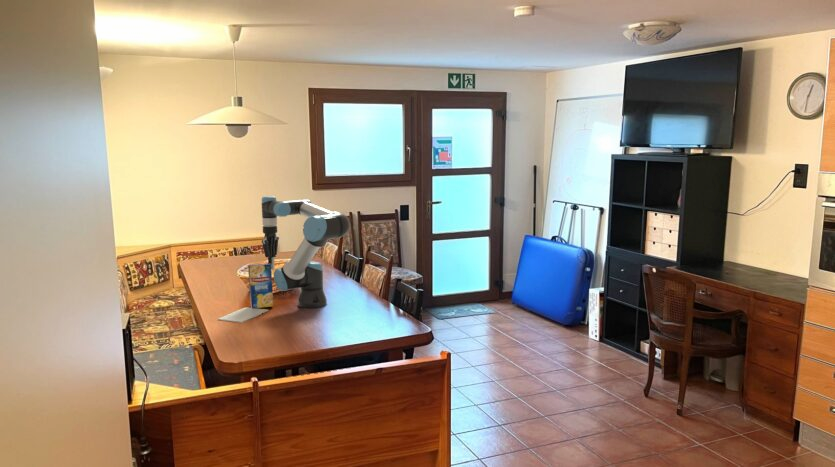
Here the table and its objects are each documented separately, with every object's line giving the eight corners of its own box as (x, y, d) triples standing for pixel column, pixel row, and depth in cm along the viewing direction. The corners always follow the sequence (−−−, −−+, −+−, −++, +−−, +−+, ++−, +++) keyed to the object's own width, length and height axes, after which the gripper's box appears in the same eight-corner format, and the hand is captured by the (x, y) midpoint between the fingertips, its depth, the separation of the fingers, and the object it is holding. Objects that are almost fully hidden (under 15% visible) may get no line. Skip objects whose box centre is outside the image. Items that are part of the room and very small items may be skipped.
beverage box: (273, 306, 307) (271, 264, 306) (251, 308, 303) (249, 265, 302) (271, 304, 313) (269, 263, 313) (250, 306, 309) (248, 265, 308)
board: (268, 310, 301) (268, 309, 301) (241, 322, 281) (241, 321, 281) (245, 308, 306) (245, 307, 306) (217, 319, 286) (217, 318, 286)
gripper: (270, 223, 318) (272, 266, 322) (256, 226, 306) (258, 271, 310) (282, 224, 316) (284, 267, 319) (268, 227, 304) (270, 272, 307)
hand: (271, 269), depth 315 cm, fingers closed
